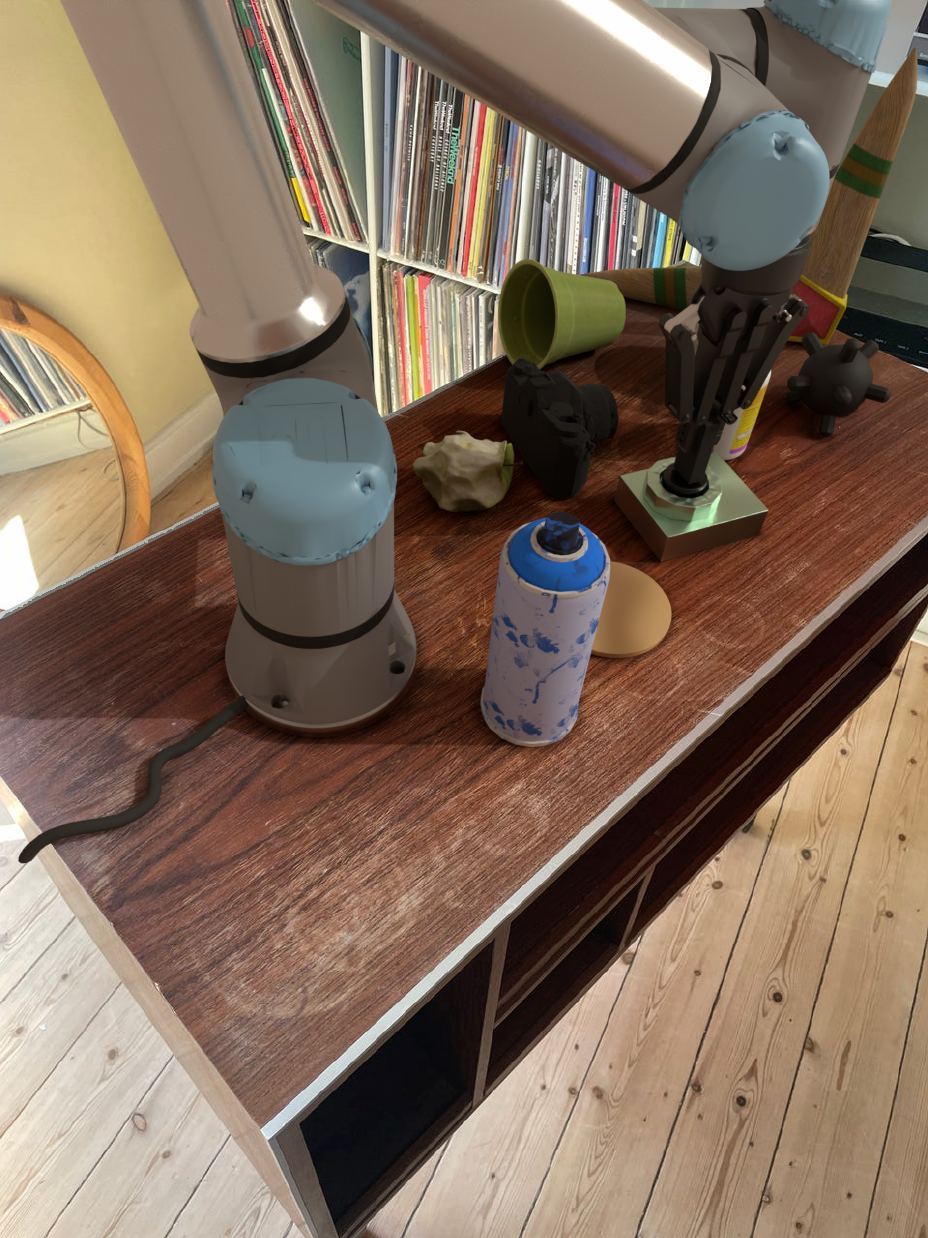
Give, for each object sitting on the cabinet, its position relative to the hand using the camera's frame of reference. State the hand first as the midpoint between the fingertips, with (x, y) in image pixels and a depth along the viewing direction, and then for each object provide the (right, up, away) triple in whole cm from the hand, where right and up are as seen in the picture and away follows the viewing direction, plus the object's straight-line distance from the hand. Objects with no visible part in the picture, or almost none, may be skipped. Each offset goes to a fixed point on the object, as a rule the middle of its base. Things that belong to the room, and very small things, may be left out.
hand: (687, 473), depth 86 cm
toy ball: (+20, +15, +19) cm, 31 cm away
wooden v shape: (+12, +31, +2) cm, 34 cm away
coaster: (-8, -13, -4) cm, 15 cm away
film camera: (-10, +4, +11) cm, 16 cm away
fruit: (-20, -1, +6) cm, 21 cm away
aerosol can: (-15, -21, -11) cm, 28 cm away
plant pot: (-4, +22, +21) cm, 31 cm away
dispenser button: (0, -1, +2) cm, 2 cm away
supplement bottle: (+6, +5, +13) cm, 15 cm away
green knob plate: (+1, -4, +5) cm, 6 cm away
